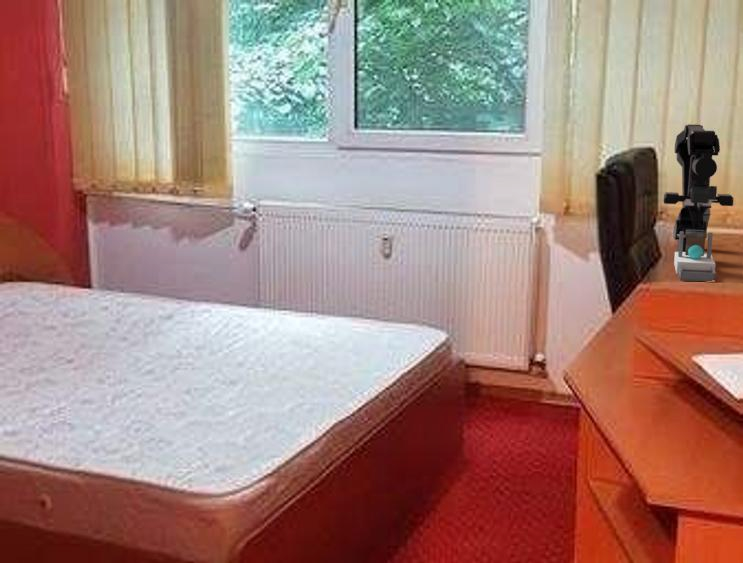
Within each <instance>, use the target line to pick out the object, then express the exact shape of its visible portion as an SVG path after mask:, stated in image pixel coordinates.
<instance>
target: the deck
mask: <svg viewBox="0 0 743 563" xmlns="http://www.w3.org/2000/svg"><path fill="white" fill-rule="evenodd" d="M684 236H685V235H684V232H683V231H680V238H679V252H677V251H674V258H673V259H674V261H673V264H674V268H675V273H676V275H679V266H681V267H682V269H687V270H706V271H711V267H713V268H714V270H715V271H716V262H715V260H714V258H713V255H712V250H713V249H712V247H713V232H707V248H706V252H704V256H701V257H700V258H698V259H693V258H691V257H690V256H689V255H685V252H682V251H683V238H684Z"/></svg>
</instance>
